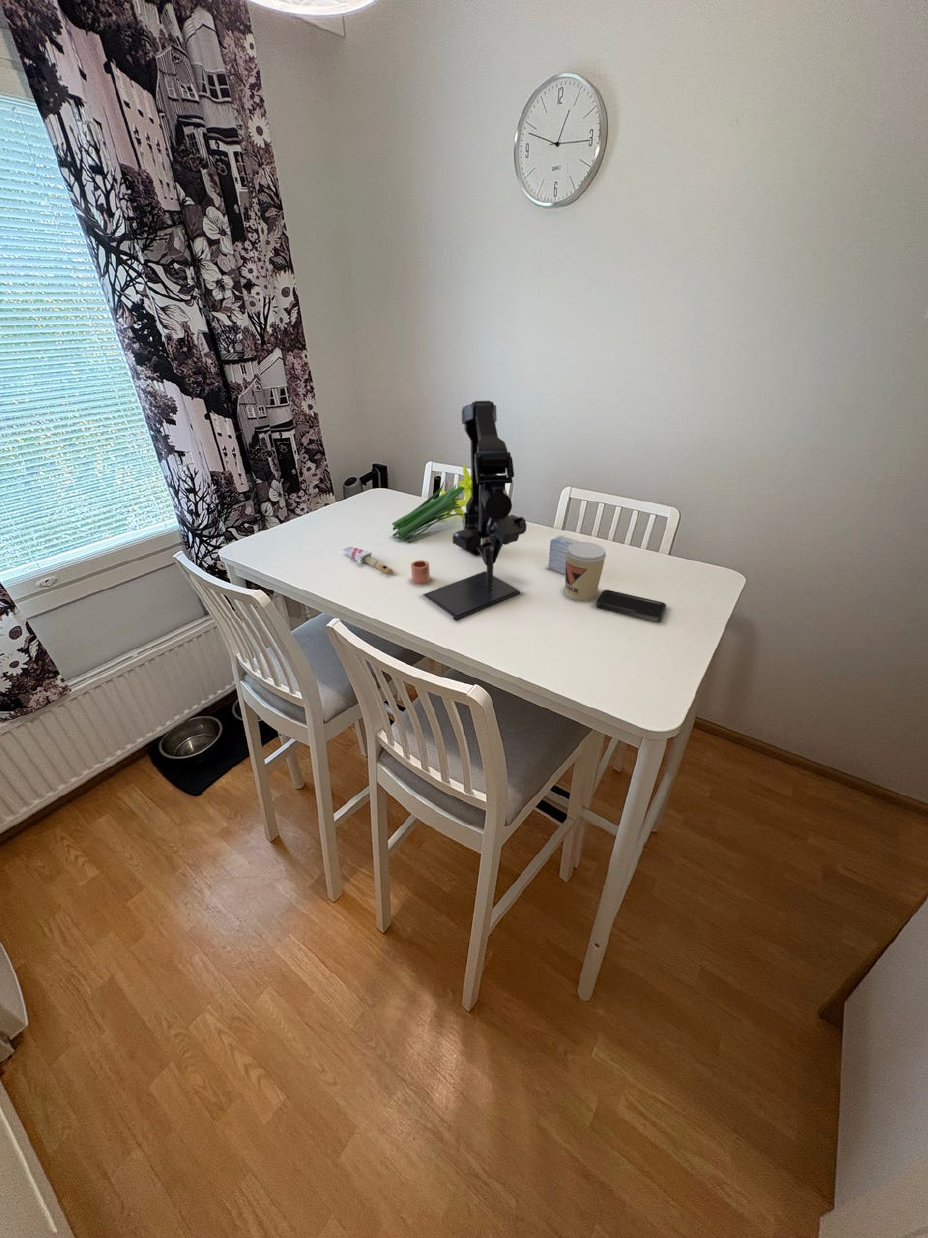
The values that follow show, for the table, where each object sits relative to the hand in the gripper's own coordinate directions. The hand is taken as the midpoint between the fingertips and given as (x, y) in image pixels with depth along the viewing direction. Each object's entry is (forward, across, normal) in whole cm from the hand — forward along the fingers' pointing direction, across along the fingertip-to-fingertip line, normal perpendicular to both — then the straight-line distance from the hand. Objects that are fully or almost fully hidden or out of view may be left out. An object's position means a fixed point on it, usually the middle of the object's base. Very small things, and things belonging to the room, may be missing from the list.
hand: (489, 563), depth 121 cm
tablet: (+7, -6, 0) cm, 9 cm away
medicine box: (+7, +22, -5) cm, 24 cm away
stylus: (+6, 0, 0) cm, 6 cm away
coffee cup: (+7, +16, -16) cm, 24 cm away
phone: (+7, +20, -28) cm, 35 cm away
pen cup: (+7, -12, +14) cm, 19 cm away
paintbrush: (+7, -18, +32) cm, 37 cm away
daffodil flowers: (+7, +12, +40) cm, 43 cm away
